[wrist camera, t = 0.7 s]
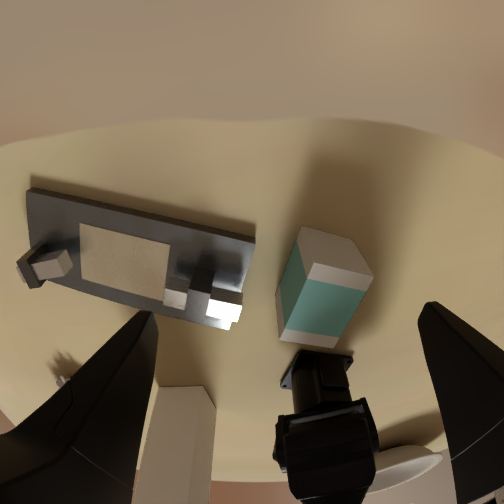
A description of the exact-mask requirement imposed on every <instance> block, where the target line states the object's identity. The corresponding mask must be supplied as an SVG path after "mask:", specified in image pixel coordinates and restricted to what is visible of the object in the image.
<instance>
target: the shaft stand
mask: <svg viewBox="0 0 504 504" xmlns="http://www.w3.org/2000/svg"><path fill="white" fill-rule="evenodd" d="M26 202H27V218H28V230H29V239H30V247H31V249H30V250H29V251H28V252H26V253H25V254H24V255H23V256H22V257H21V258H20V259H19V260H18V261H17V262H16V263H17V265H18V266H17V267H16V269H17V271H18V273H19V275H20V277H21V279H22V281H23V283H25V282H26V283H27V285H28V287H29V288H30V289H32V288H39V287H41V286H42V285H43V283H44V282H45V281H46V280H48V281H51V282H54V283H57V284H60V285H63V286H66V287H69V288H72V289H75V290H78V291H81V292H84V293H87V294H91V295H94V296H97V297H100V298H104V299H107V300H110V301H114V302H117V303H121V304H124V305H128V306H131V307H135V308H139V309H142V310H148V311H152V312H154V313H158V314H161V315H165V316H169V317H173V318H178V319H182V320H186V321H190V322H194V323H199V324H203V325H208V326H212V327H217V328H222V329H227V330H229V328H230V325H231V322H232V321H235V322H237V320H238V317H239V314H240V311H241V308H242V299H243V293H241V289H242V286H243V283H244V280H245V276H246V273H247V270H248V267H249V264H250V260H251V257H252V254H253V251H254V247H255V238H253V237H249V236H245V235H241V234H237V233H233V232H228V231H224V230H220V229H216V228H212V227H207V226H203V225H199V224H195V223H190V222H186V221H182V220H177V219H173V218H169V217H164V216H160V215H156V214H151V213H147V212H142V211H138V210H134V209H129V208H125V207H120V206H116V205H111V204H107V203H102V202H98V201H93V200H89V199H84V198H80V197H75V196H70V195H66V194H61V193H56V192H52V191H47V190H42V189H37V188H33V187H32V188H31V189H29V190H27V191H26Z"/></svg>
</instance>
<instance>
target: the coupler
mask: <svg viewBox="0 0 504 504" xmlns="http://www.w3.org/2000/svg"><path fill="white" fill-rule="evenodd" d="M373 279H374V275H373V274H372V272H371V270H370V269H369V267H368V265H367V263H366V262H365V260H364V258H363V257H362V255H361V253H360V252H359V250H358V249H357V247H356V245H355V244H354V242H353V240H352V239H348V238H344V237H341V236H337V235H334V234H330V233H327V232H323V231H319V230H316V229H312V228H308V227H304V226H301V228H300V231H299V234H298V236H297V239H296V242H295V245H294V247H293V250H292V253H291V255H290V258H289V261H288V263H287V266H286V268H285V271H284V274H283V276H282V279H281V282H280V284H279V287H278V289H277V292H276V294H275V300H276V311H277V321H278V332H279V340H281V341H287V342H294V343H300V344H307V345H313V346H320V347H328V348H334V346H335V345H336V343H337V341H338V340H339V338H340V336H341V335H342V333H343V332H344V330H345V328H346V327H347V325H348V323H349V322H350V320H351V318H352V316H353V315H354V313H355V311H356V310H357V308H358V306H359V304H360V302H361V301H362V299H363V297H364V295H365V293H366V292H367V290H368V288H369V286H370V284H371V282H372V281H373Z"/></svg>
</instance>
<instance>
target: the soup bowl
mask: <svg viewBox="0 0 504 504" xmlns="http://www.w3.org/2000/svg"><path fill="white" fill-rule="evenodd" d="M374 458H375V465H376V475H375V478H374V480H373V483H372V485H371V486H370V487H369V489H368V491H367V493H366V494H370V493H375V492H379V491H382V490H386V489H389V488H392V487H395V486H397V485H400V484H402V483H405V482H407V481H410V480H412V479H414V478H416V477H418V476H420V475H422V474H423V473H425V472H427V471H428V470H430V469H431V468H433V467H434V466H436V465H437V464H438V463H439V462H440V461H441V460H442V458H443V454H442V453H439V452H435V453H434V452H432V451H431V450H429V449H428V448H425V447H422V446H417V445H406V446H400V447H395V448H391V449H388V450H385V451H382V452H379V453H378V454H375V455H374Z"/></svg>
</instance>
